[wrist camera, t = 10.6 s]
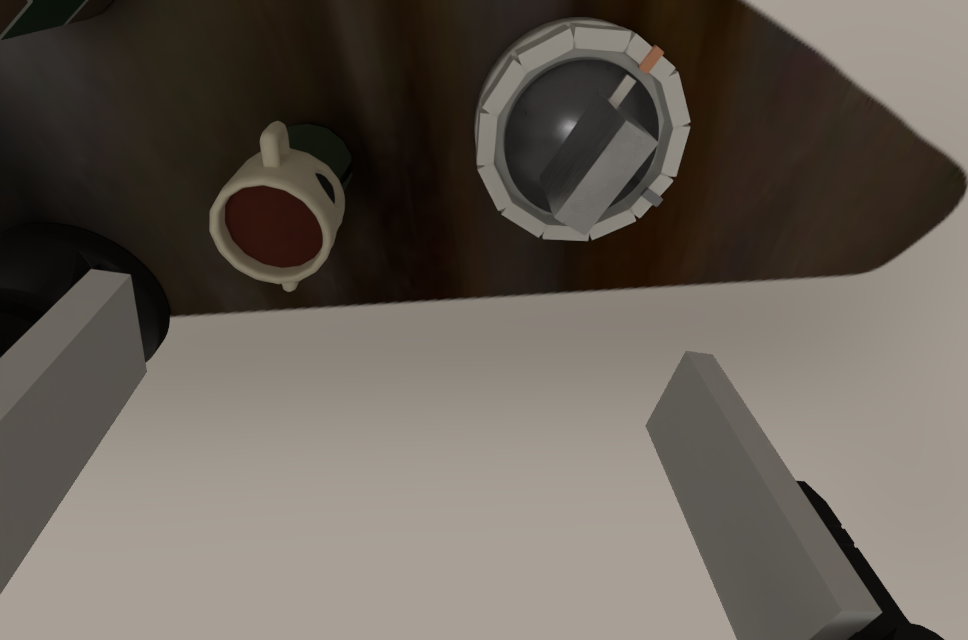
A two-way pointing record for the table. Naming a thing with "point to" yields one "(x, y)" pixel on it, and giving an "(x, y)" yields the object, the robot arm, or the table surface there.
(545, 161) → the dial
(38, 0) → the beer bottle
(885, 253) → the table surface
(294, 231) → the character mug
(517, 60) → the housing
